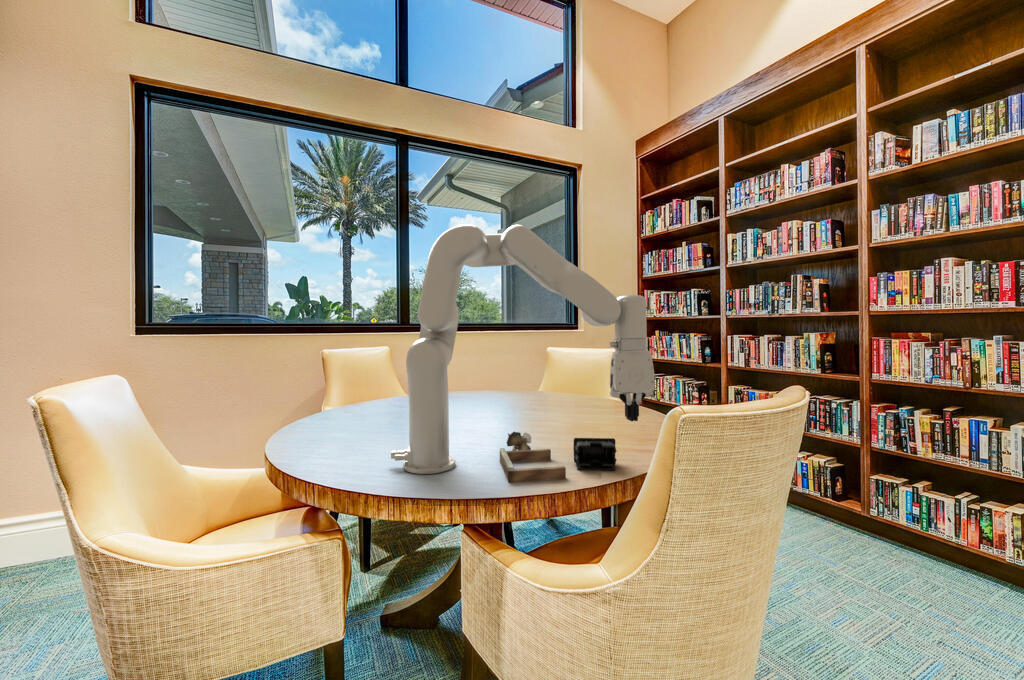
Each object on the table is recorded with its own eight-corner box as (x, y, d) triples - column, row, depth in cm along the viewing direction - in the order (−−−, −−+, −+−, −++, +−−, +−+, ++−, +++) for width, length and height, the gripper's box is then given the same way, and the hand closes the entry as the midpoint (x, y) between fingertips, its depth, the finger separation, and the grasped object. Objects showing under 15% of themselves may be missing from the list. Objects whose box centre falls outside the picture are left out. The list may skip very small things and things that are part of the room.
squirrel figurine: (499, 446, 122) (499, 449, 113) (513, 423, 123) (514, 425, 114) (523, 461, 122) (525, 465, 113) (536, 438, 123) (539, 441, 114)
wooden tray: (508, 482, 97) (508, 467, 97) (499, 461, 113) (499, 448, 112) (565, 479, 99) (565, 464, 99) (549, 458, 115) (549, 445, 114)
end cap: (613, 462, 112) (613, 435, 111) (617, 471, 104) (617, 443, 104) (573, 461, 112) (573, 435, 112) (575, 470, 105) (575, 442, 105)
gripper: (607, 347, 104) (608, 425, 105) (666, 345, 106) (667, 421, 107) (596, 346, 111) (597, 418, 112) (652, 344, 113) (653, 415, 114)
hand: (632, 419), depth 109 cm, fingers closed
